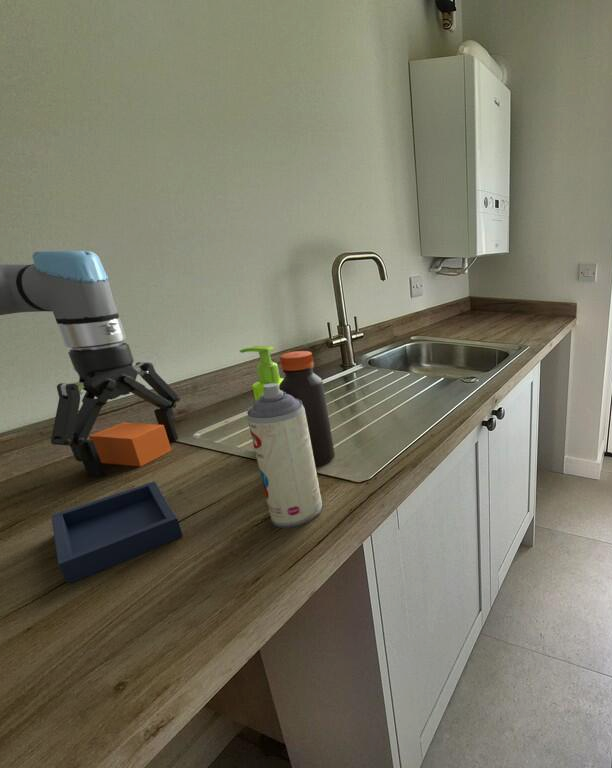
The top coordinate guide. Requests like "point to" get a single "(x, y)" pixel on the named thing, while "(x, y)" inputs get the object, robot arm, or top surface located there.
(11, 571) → the top surface
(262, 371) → the soap dispenser
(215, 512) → the top surface
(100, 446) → the block
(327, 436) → the bottle
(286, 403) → the aerosol can
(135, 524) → the dark blue rectangular tray
